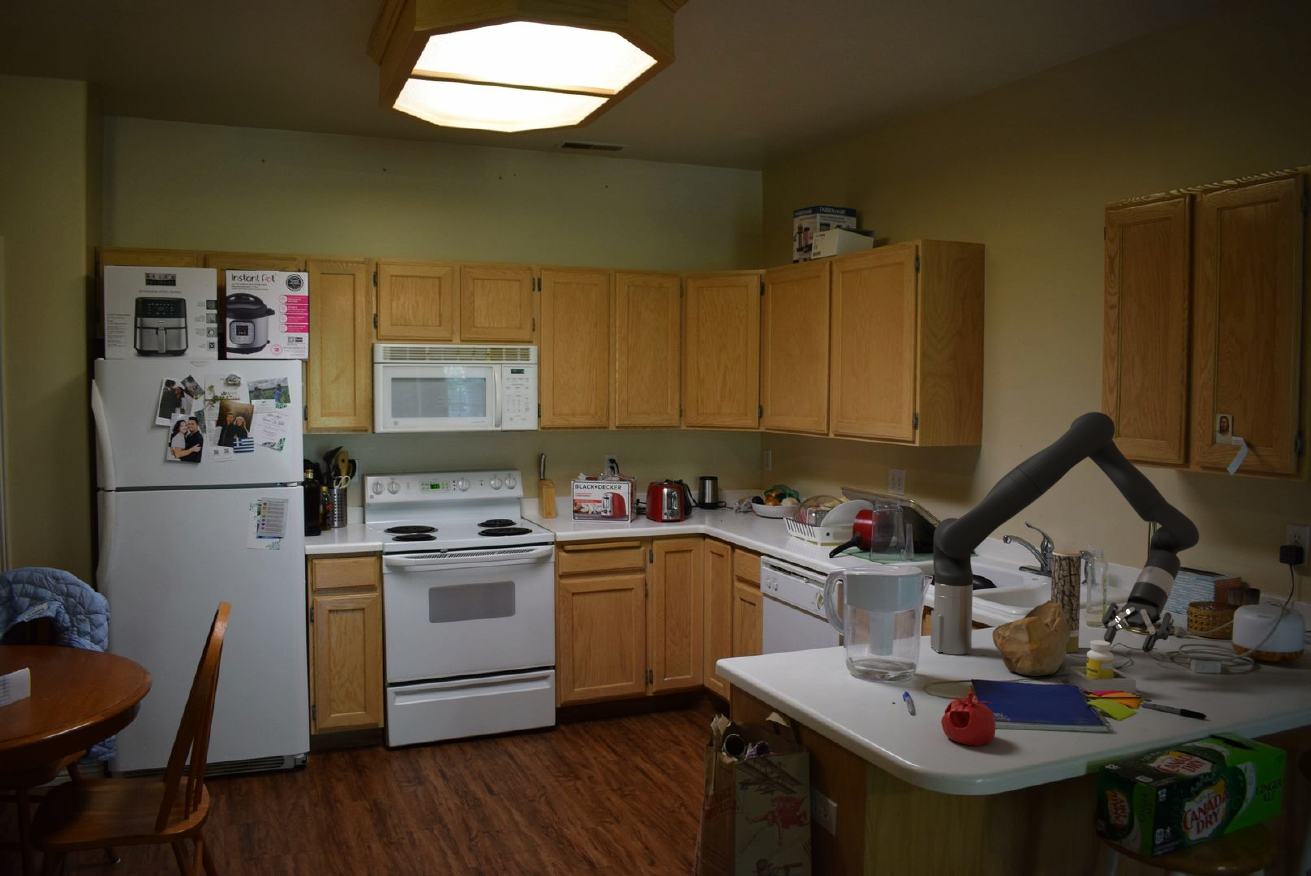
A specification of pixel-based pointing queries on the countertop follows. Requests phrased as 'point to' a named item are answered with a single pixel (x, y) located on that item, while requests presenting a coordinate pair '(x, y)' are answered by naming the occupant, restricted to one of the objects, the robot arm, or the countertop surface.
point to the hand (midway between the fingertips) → (1125, 646)
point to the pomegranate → (969, 721)
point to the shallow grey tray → (1099, 681)
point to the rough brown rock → (1034, 641)
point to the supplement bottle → (1099, 660)
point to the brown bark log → (1067, 590)
